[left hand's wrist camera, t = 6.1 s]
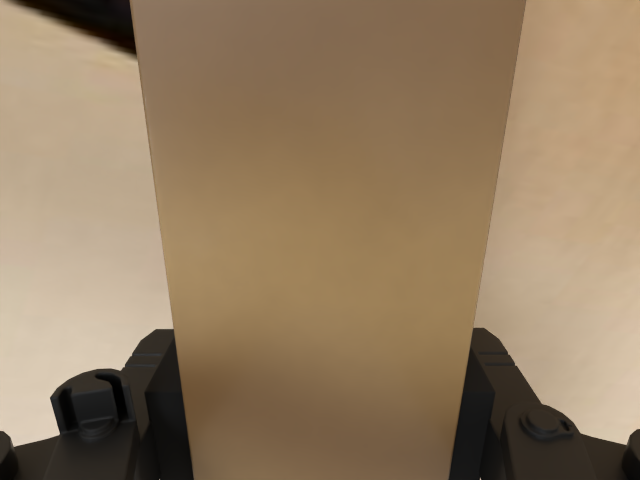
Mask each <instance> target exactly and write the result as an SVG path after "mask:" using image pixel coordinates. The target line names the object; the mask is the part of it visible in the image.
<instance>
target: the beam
mask: <svg viewBox="0 0 640 480" xmlns="http://www.w3.org/2000/svg"><path fill="white" fill-rule="evenodd" d="M525 4H526V0H130V6H131V13H132V20H133V28H134V35H135V43H136V50H137V58H138V65H139V73H140V80H141V88H142V95H143V103H144V110H145V118H146V125H147V133H148V140H149V148H150V155H151V163H152V170H153V177H154V185H155V192H156V200H157V207H158V215H159V222H160V230H161V237H162V245H163V252H164V260H165V267H166V275H167V282H168V290H169V297H170V305H171V312H172V320H173V327H174V334H175V342H176V349H177V357H178V364H179V372H180V379H181V387H182V394H183V402H184V409H185V417H186V424H187V432H188V439H189V447H190V454H191V462H192V469H193V476H194V480H448V479H449V473H450V467H451V461H452V455H453V449H454V442H455V436H456V430H457V424H458V418H459V412H460V405H461V399H462V393H463V387H464V381H465V374H466V368H467V362H468V356H469V350H470V344H471V337H472V331H473V325H474V319H475V313H476V307H477V300H478V294H479V288H480V282H481V276H482V270H483V263H484V257H485V251H486V245H487V239H488V232H489V226H490V220H491V214H492V208H493V202H494V195H495V189H496V183H497V177H498V171H499V165H500V158H501V152H502V146H503V140H504V134H505V128H506V121H507V115H508V109H509V103H510V97H511V90H512V84H513V78H514V72H515V66H516V60H517V53H518V47H519V41H520V35H521V29H522V23H523V16H524V10H525Z"/></svg>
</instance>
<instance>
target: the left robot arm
mask: <svg viewBox="0 0 640 480" xmlns="http://www.w3.org/2000/svg"><path fill="white" fill-rule="evenodd" d="M50 400H51V403H52V407H53V410H54V414H55V417H56V421H57V424H58V428H59V431H60V435H59V436H55V437H52V438H49V439H45V440H41V441H37V442H33V443H28V444H24V445H20V446H16V447H13V444H12V441H11V438H10V437H9V436H8V435H7V434H6V433H5V432H4V431H0V480H159V479H160V480H194V476H193V469H192V462H191V454H190V447H189V439H188V432H187V424H186V417H185V409H184V402H183V394H182V387H181V379H180V372H179V364H178V357H177V349H176V342H175V334H174V329H156V330H154V331H153V332H152V333H150V334H149V335H148V336H146V337H145V338H144V339H142V340H141V341H140V343H139V344H138V346H137V347H136V349H135V350H134V352H133V353H132V356H130V358H129V359H128V361H127V362H126V364H125V367H123V369H122V370H121V371H119V370H115V369H96V370H92V371H88V372H84V373H81V374H79V375H77V376H75V377H73V378H71V379H69V380H67V381H66V382H65V383H63V384H62V385H61V386H59V387H58V388H57V389H56V390H55V392H54V393H53V395H52V396H51V397H50ZM480 478H481V480H640V429H637V430H636V431H634V432H633V433H632V434H631V435H630V437H629V440H628V443H627V445H623V444H619V443H615V442H611V441H607V440H602V439H598V438H594V437H590V436H587V435H584V434H581V433H580V432H579V430H578V429H577V427H576V426H575V424H574V423H573V422H572V421H571V420H570V419H569V418H568V417H566V416H565V415H564V414H563V413H561V412H559V411H557V410H555V409H554V408H552V407H550V406H547V405H543V404H541V402H540V400H539V399H538V397H537V396H536V394H535V393H534V391H533V390H532V388H531V387H530V385H529V384H528V382H527V381H526V379H525V378H524V376H523V375H522V373H521V372H520V370H519V369H518V367H517V366H515V363H514V361H513V359H512V358H511V356H510V355H508V352H507V350H506V349H505V347H504V346H503V344H502V343H501V341H500V340H499V339H498V338H497V337H496V336H494V335H493V334H491V333H490V332H489V331H487V330H486V329H485V328H473V331H472V337H471V344H470V350H469V356H468V362H467V368H466V374H465V381H464V387H463V393H462V399H461V405H460V412H459V418H458V424H457V430H456V436H455V442H454V449H453V455H452V461H451V467H450V473H449V479H448V480H480Z"/></svg>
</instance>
